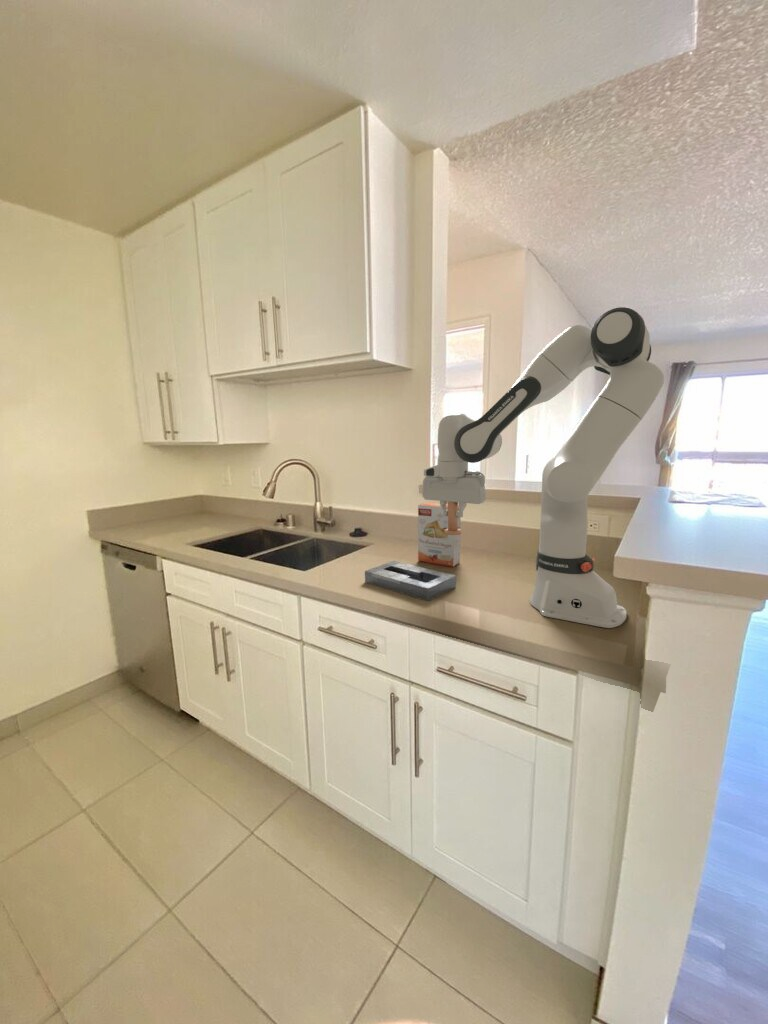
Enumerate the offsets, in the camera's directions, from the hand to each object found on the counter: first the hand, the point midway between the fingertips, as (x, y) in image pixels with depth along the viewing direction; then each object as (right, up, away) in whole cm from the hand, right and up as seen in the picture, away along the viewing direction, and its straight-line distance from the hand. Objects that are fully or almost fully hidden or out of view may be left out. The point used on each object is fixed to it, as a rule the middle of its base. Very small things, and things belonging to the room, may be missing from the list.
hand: (452, 516), depth 125 cm
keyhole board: (-13, -21, +1) cm, 25 cm away
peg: (0, -5, +1) cm, 5 cm away
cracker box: (-1, -17, +23) cm, 28 cm away
